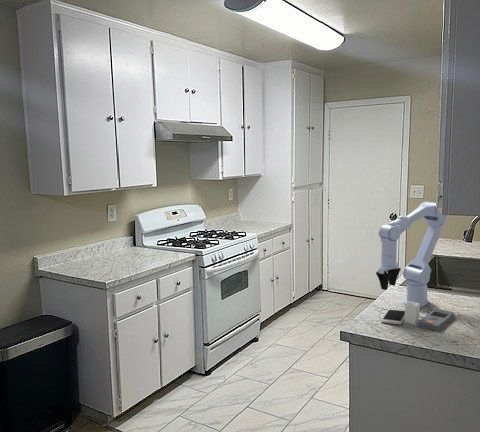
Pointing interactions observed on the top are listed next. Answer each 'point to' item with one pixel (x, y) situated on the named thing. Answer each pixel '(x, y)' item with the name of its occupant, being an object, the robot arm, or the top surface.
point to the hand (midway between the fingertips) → (388, 287)
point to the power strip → (436, 319)
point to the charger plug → (412, 312)
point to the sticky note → (410, 323)
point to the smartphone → (394, 316)
